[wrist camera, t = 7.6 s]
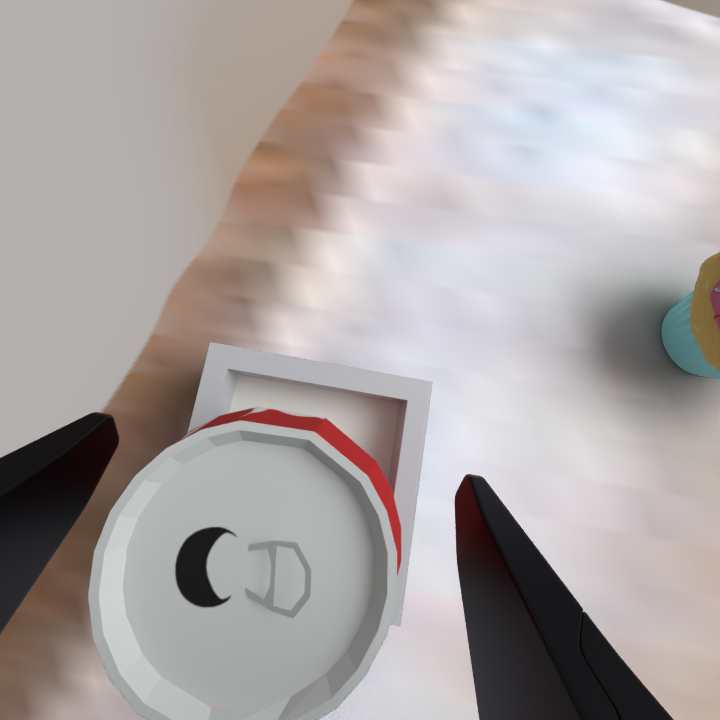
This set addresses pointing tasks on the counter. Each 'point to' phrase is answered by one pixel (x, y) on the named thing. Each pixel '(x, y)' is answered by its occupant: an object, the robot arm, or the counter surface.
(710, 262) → the cupcake
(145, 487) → the soda can
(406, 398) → the socket block
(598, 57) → the counter surface
